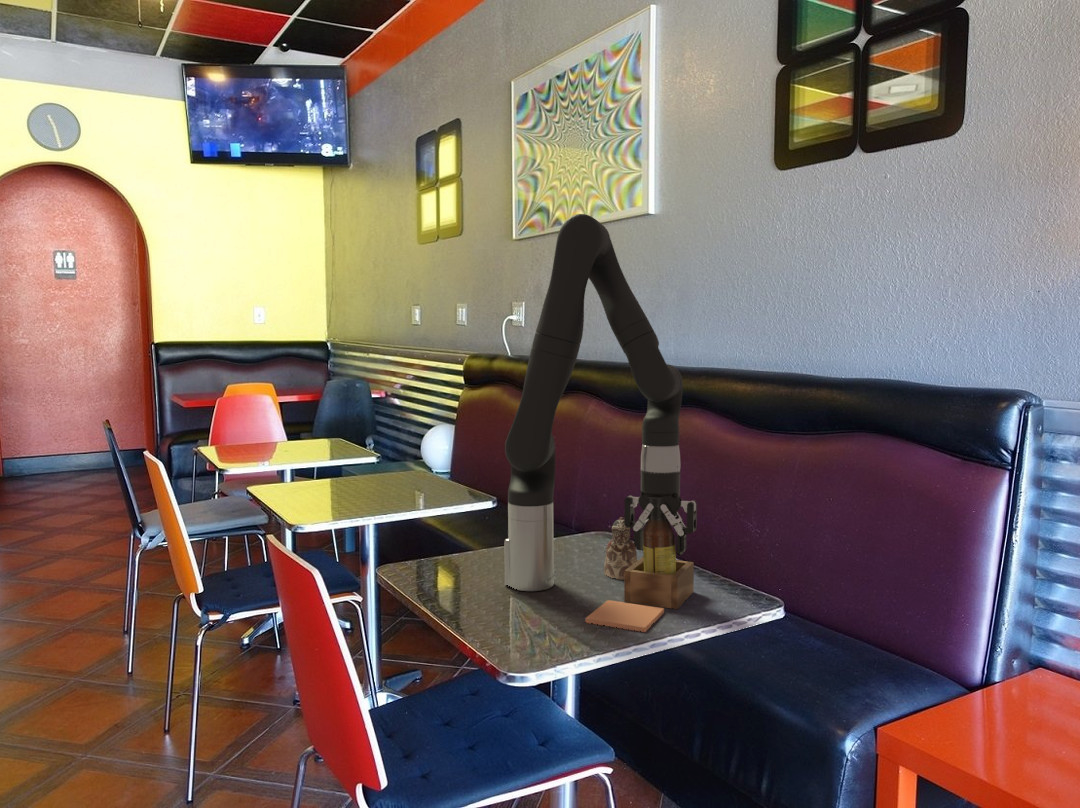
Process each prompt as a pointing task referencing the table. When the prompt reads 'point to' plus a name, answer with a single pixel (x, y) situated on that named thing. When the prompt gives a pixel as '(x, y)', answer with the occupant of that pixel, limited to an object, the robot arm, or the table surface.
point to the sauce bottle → (658, 541)
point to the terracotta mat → (625, 615)
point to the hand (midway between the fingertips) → (659, 551)
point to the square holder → (659, 585)
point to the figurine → (619, 551)
